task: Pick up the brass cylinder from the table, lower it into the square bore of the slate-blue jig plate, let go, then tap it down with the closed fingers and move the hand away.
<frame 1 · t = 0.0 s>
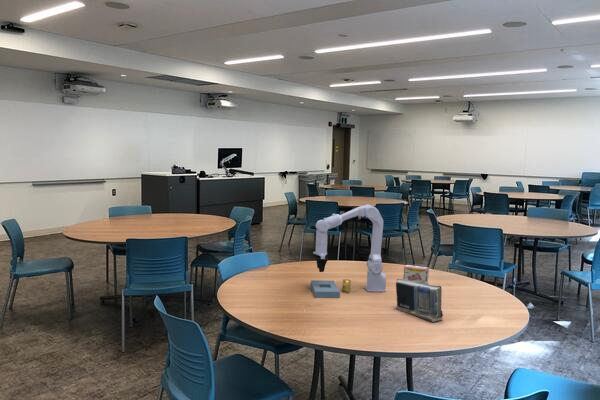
hand: (320, 270, 232), 10 cm above the table, tool pointing down, fingers open, 7 cm apart
radio: (416, 315, 200), on the table
candy bar box: (414, 300, 220), on the table
jig: (324, 291, 230), on the table
brass cylinder: (346, 291, 230), on the table
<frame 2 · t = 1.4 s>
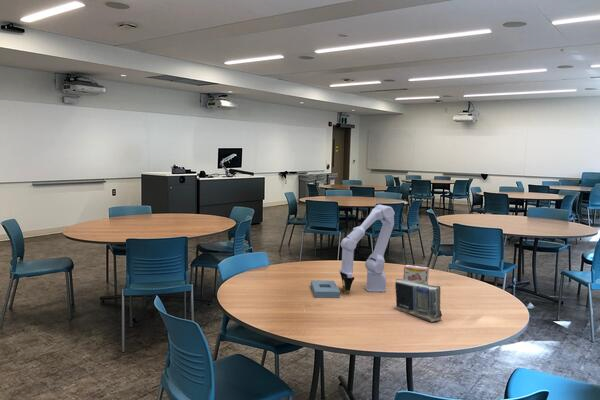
hand: (346, 288, 230), 2 cm above the table, tool pointing down, fingers open, 7 cm apart
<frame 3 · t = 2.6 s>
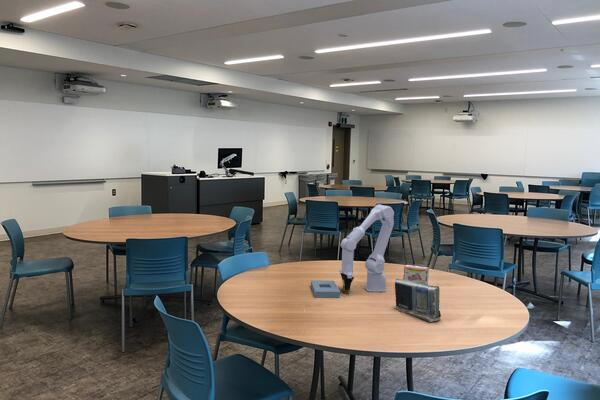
hand: (346, 288, 230), 2 cm above the table, tool pointing down, fingers closed on brass cylinder, 4 cm apart
brass cylinder: (346, 291, 230), on the table, touching gripper
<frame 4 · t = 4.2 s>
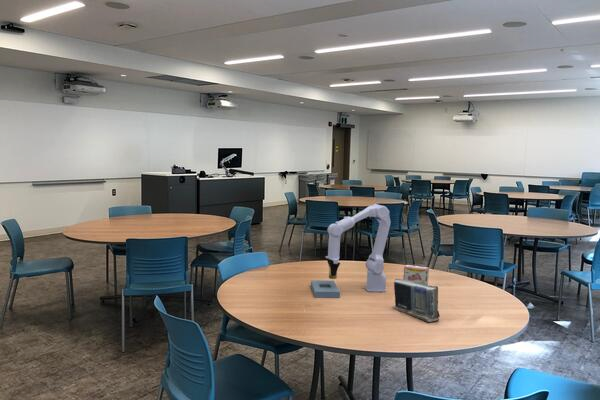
hand: (332, 274, 229), 9 cm above the table, tool pointing down, fingers closed on brass cylinder, 4 cm apart
brass cylinder: (332, 277, 229), point 7 cm above the table, touching gripper
when the fingers open (4 cm above the table, at t = 6.2 s): brass cylinder drops 2 cm, resting in jig.
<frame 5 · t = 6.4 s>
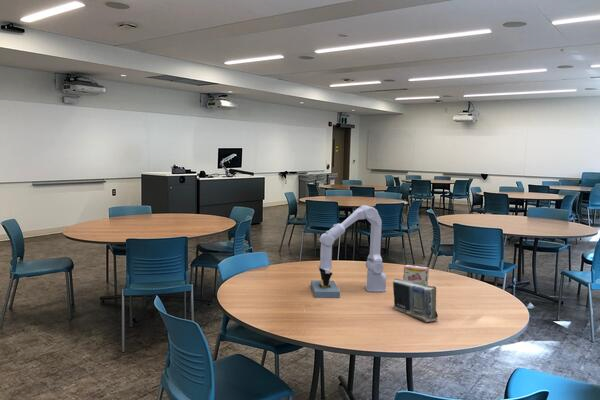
hand: (325, 284, 229), 4 cm above the table, tool pointing down, fingers open, 6 cm apart
brass cylinder: (324, 291, 230), resting in jig
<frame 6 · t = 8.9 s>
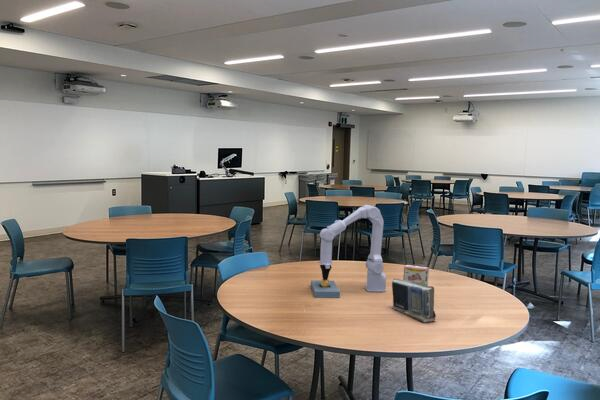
hand: (325, 279, 229), 6 cm above the table, tool pointing down, fingers closed
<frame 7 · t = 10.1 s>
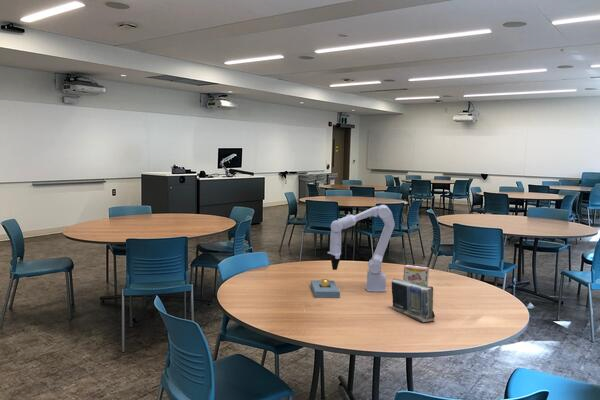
hand: (334, 269, 237), 9 cm above the table, tool pointing down, fingers closed
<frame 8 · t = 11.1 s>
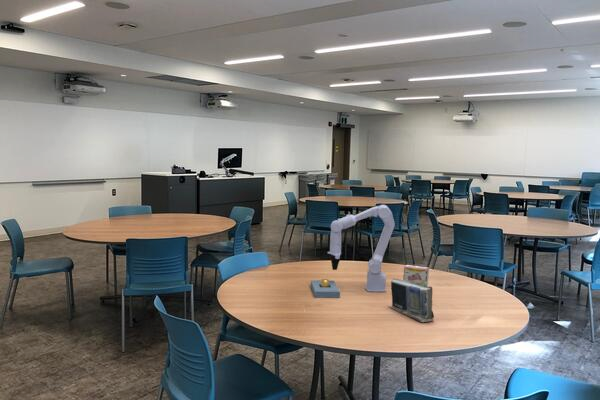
hand: (334, 269, 237), 9 cm above the table, tool pointing down, fingers closed
at the end: brass cylinder 0.1 cm off-centre on the jig, point 0.0 cm above the jig's base; brass cylinder tilted 1°; the gripper is holding nothing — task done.
